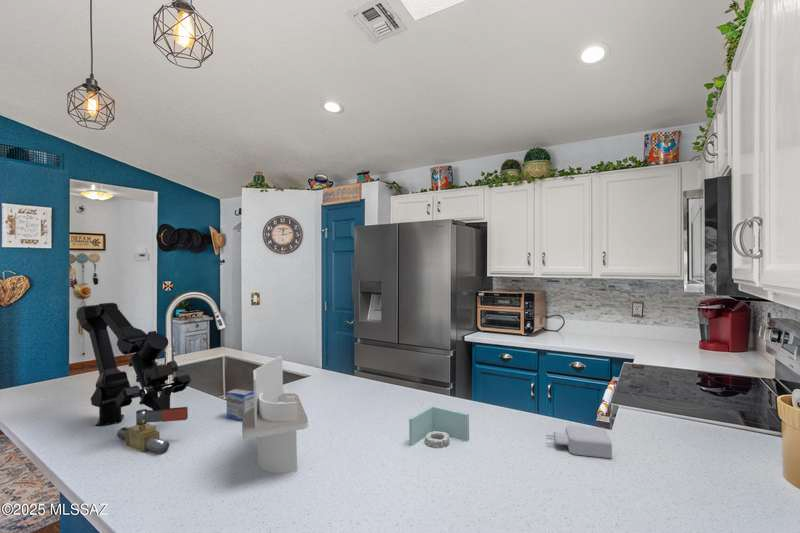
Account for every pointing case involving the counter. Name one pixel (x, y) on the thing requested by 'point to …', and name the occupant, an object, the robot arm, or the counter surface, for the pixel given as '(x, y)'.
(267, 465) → the architectural model
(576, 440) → the charger
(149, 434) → the valve
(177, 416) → the lever
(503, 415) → the counter surface
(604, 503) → the counter surface
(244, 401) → the medicine box
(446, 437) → the l-shaped corner panel
